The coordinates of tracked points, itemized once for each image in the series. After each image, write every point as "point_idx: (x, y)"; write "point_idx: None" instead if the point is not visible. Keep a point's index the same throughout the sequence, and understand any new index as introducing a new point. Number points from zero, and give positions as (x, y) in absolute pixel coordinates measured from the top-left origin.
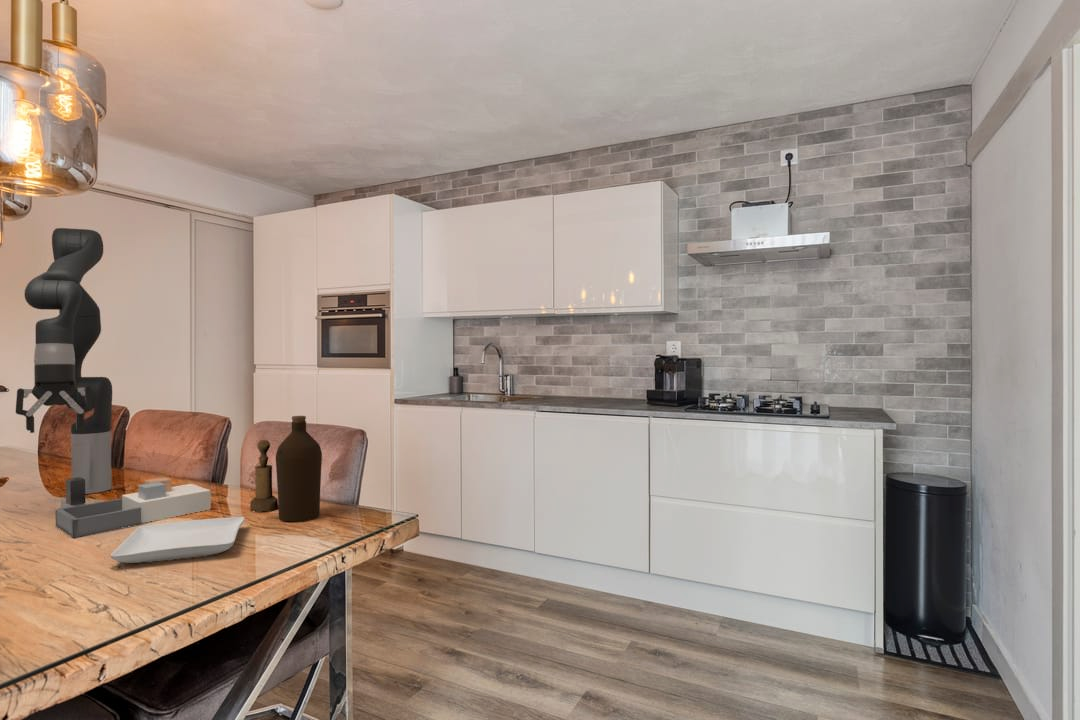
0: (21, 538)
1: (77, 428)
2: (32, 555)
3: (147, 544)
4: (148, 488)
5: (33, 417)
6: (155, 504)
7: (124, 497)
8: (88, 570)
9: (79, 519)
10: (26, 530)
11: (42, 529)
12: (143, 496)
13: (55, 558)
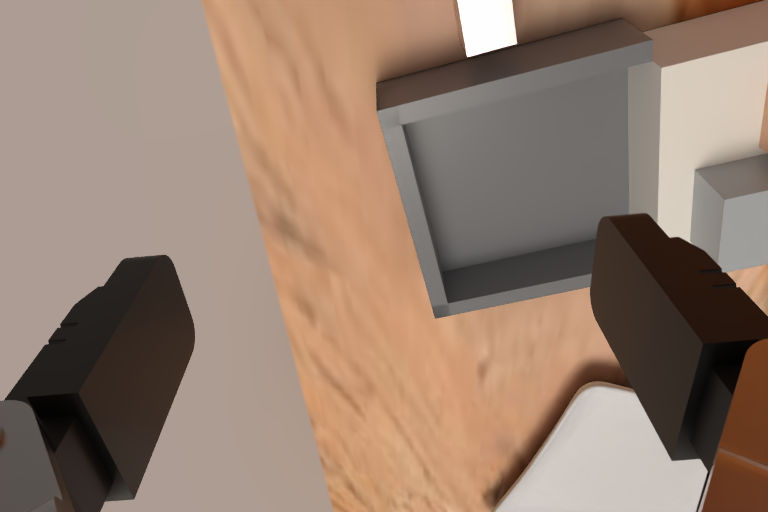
0: (286, 193)
1: (600, 312)
2: (343, 367)
3: (570, 437)
4: (729, 266)
5: (129, 490)
6: None
7: (658, 100)
8: (447, 489)
9: (453, 314)
10: (280, 82)
11: (334, 103)
12: (697, 232)
13: (392, 408)
